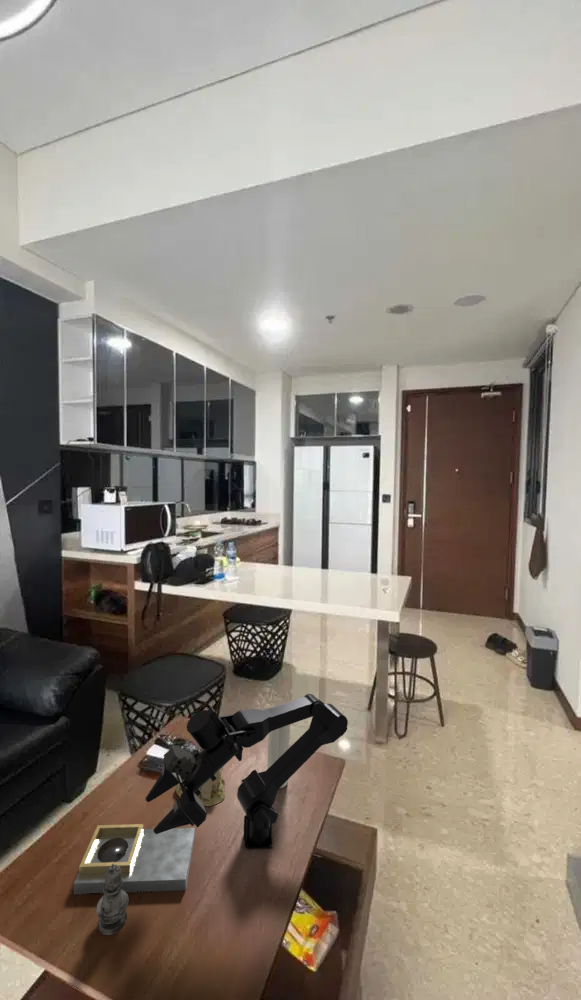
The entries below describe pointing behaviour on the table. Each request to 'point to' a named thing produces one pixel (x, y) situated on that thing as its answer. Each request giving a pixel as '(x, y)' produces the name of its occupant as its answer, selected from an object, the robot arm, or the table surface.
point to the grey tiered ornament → (112, 903)
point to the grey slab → (137, 858)
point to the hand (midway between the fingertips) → (150, 815)
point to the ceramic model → (210, 790)
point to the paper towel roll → (278, 745)
